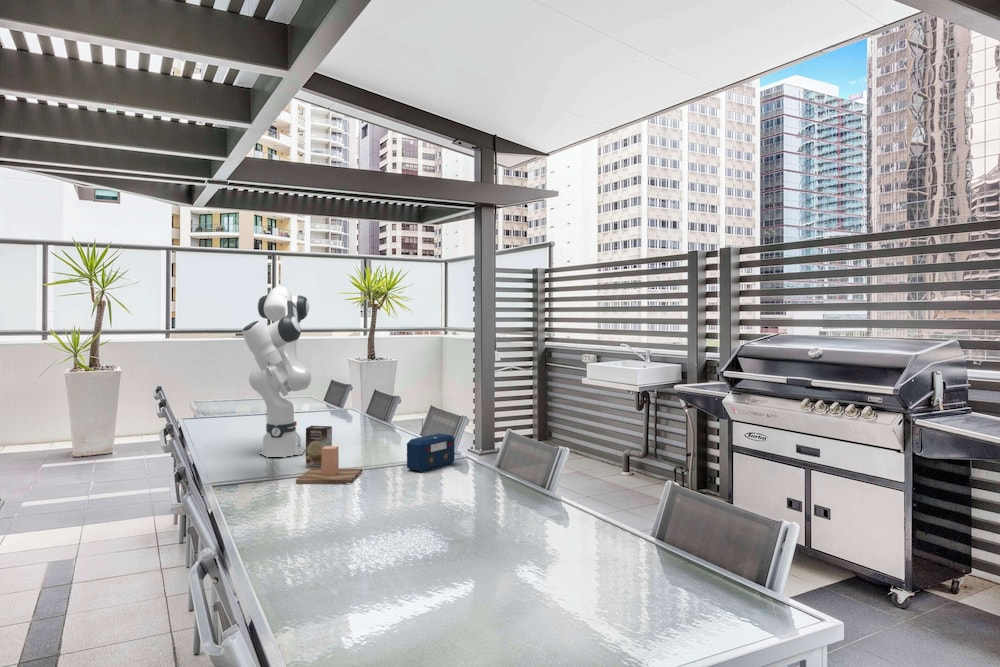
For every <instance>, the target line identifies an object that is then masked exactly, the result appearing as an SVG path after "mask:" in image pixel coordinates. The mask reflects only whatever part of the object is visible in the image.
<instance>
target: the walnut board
mask: <svg viewBox="0 0 1000 667" xmlns="http://www.w3.org/2000/svg"><path fill="white" fill-rule="evenodd" d="M361 472H362V473H363V468H360V467H359V468H358V467H356V468H354V467H353V468H352V467H351V468H347V467H345V468H343V467H342V468H341V467H339V472H338V473H337V474H336V475H335V476H331V475H322V468H310V469H308V470H307V471H305V472H304V473H303V474H302V475H301V476H298V477H297V478H296V479H295V484H296V485H343V484H342V483H352V482H355V480H357V478H358V477H359V476H360V475H361V474H362V473H361ZM360 473H361V474H360ZM359 474H360V475H359ZM358 475H359V476H358ZM357 476H358V477H357ZM352 484H353V483H352Z"/></svg>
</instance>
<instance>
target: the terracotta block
mask: <svg viewBox="0 0 1000 667" xmlns="http://www.w3.org/2000/svg"><path fill="white" fill-rule="evenodd" d="M321 454H322V475H331V476H335V475H336V474H337V473H338V472H339V468H340V467H339V460H340V458H339V445H332V446H325V447H323V448H322V449H321Z"/></svg>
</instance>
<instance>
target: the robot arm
mask: <svg viewBox="0 0 1000 667" xmlns="http://www.w3.org/2000/svg"><path fill="white" fill-rule="evenodd" d="M256 306H257V311H258V315H259V316H260V317H261V318H262V319H267V320H270V321H272V322H273V323H272V322H271V323H270V324H268V325H266V326H264V324H263V323H262V322H261V321H260V320H256V321H253V322H251V323H249V324H247V325H246V326H244V327H243V329H242V330H241V333H242V336H243V339H244V340H245V343H246V345H247V347H248V349H249V351H250V352H251V353H252V354H253V356H254V359H255V361H256V363H257V365H258V367H255V368H253V370H251V372H250V374H249V377H248V382H249V385H250V386H251V388H252V389H253V390H254V391H255V392H256V393H257V394H259V395H260V396H261V397H262V399H263V401H264V404H265V406H266V416H267V418H266V419H267V423H266V424H265V425H266V426H265V429H266V430H265V431H266V433H265V435H264V436H263V438H262V450H261V451H260V452H259V454H263V455H265V456H268V457H283V458H288V457H287V456H291V457H294V456H293V455H298V456H301V455H300V454H303V455H304V453H305V451H306V450H305V448H306V445H305V446H304V445H302V444H301V442H302V440H301V439H302V438H301V436H300V435H299V433H298V432H297V431H296V428H297V425H298V424H297V423H298V422H297V421H296V420H295V406H294V404H293V403H292V401H290V400H288V399H286V398H284V397H287V396H288V395H289V393H290V392H298V391H303V390H307V389H308V388H309V386H310V384H311V383H312V382H311V381H312V375H311V372H310V370H309V369H308V368H307V367H305V366H304V365H303V364H302V363H301V362H300V360H299V358H298V355H297V341H298V340H299V338H300V337H301V333H302V328H301V326H300V323H301V322H302V321H303V320H304V319H306V317H307V316H308V314H309V311H310V303H309V301H308V298H307V297H306V296H303V295H301V294H300V295H293V294H292V292H291V291H290V289H288V288H287V287H285V286H276V287H273V288H272V289H271V290H270V291H269V293H268V294H266V295H263V296H261V297H260V298H259V300H258V302H257V305H256ZM280 394H282V396H281V395H280ZM304 450H305V451H304ZM303 452H304V453H303ZM268 457H267V458H268Z"/></svg>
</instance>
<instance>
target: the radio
mask: <svg viewBox="0 0 1000 667" xmlns="http://www.w3.org/2000/svg"><path fill="white" fill-rule="evenodd" d="M423 422H424V421H423V419H421V436H419V437H415V438H411V439H410V440H408V442H407V443H406V468H407V469H409V470H410V469H412V470H411V471H414V470H416V471H415V472H419V471H421V472H420V473H424V471H426V472H429V471H432V469H433V470H436V468H437V469H440V468H443V466H444V467H447V466H446V465H448V466H451V465H452V464H454V462H455V436H453V435H451V434H445V433H440V432H439V433H435V434H430V435H425V436H424V430H423V429H424V427H423V426H424V424H423ZM450 464H451V465H450ZM439 467H440V468H439ZM428 470H429V471H428Z"/></svg>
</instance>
